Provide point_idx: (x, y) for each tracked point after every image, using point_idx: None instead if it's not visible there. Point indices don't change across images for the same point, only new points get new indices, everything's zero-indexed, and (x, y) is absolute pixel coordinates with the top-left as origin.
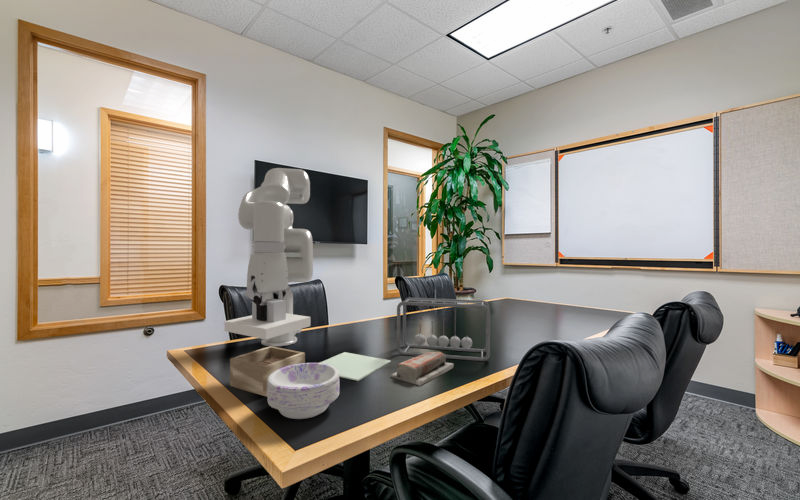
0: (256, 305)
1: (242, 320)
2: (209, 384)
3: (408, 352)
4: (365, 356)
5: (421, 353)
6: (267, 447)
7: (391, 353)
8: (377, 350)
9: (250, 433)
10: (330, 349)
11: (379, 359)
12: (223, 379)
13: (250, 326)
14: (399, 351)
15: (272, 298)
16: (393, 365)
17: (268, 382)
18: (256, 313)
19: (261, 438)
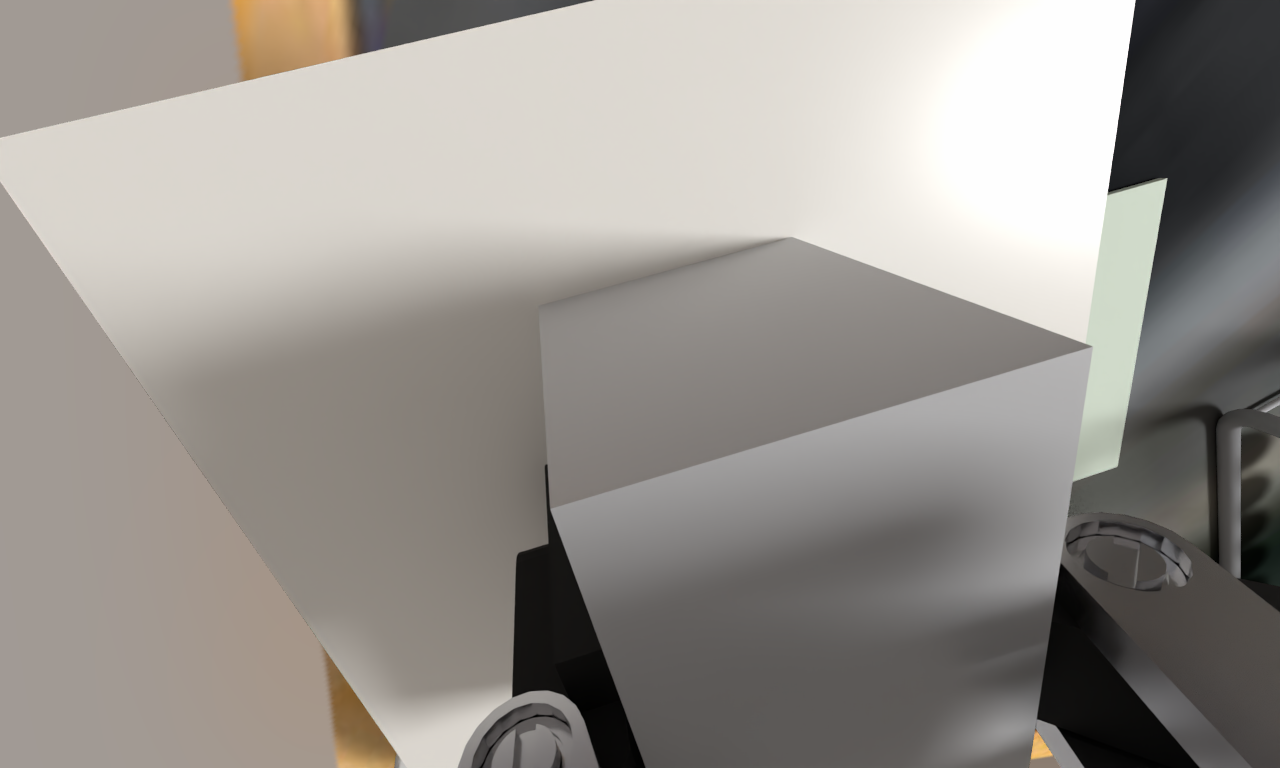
0: (512, 730)
1: (348, 328)
2: (273, 32)
3: (1234, 453)
4: (1132, 337)
5: (1234, 497)
6: (352, 763)
7: (1225, 372)
8: (1256, 281)
9: (331, 682)
10: (1206, 17)
11: (1113, 420)
12: (385, 8)
13: (353, 682)
14: (1233, 423)
15: (1086, 590)
16: (1073, 500)
17: (397, 757)
18: (517, 585)
19: (353, 720)
